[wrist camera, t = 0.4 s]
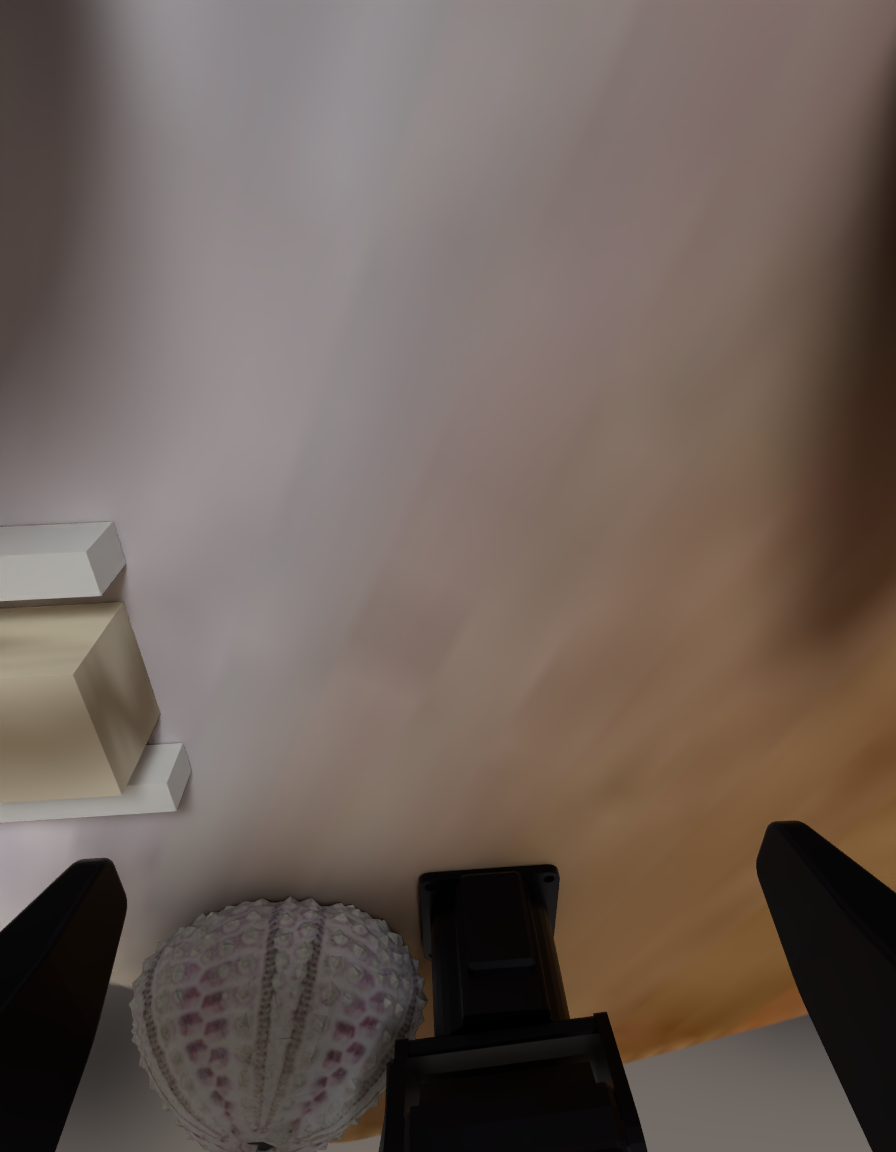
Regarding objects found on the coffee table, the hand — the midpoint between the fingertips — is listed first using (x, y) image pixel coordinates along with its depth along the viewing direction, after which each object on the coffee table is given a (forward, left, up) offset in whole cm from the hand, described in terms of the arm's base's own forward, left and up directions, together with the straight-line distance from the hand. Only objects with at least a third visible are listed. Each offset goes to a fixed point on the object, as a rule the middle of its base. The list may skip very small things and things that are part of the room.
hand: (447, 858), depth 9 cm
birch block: (-6, +13, -13) cm, 20 cm away
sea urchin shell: (-25, +8, -14) cm, 29 cm away
